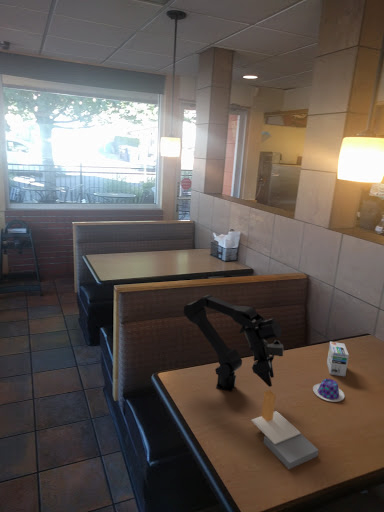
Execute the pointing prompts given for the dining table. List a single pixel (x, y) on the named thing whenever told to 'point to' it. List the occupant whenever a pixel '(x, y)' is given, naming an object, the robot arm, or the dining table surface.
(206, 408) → the dining table surface
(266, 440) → the gray carton
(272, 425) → the lid
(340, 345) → the light bulb box
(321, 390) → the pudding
